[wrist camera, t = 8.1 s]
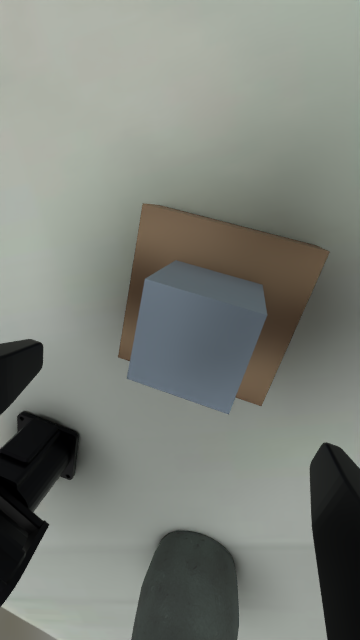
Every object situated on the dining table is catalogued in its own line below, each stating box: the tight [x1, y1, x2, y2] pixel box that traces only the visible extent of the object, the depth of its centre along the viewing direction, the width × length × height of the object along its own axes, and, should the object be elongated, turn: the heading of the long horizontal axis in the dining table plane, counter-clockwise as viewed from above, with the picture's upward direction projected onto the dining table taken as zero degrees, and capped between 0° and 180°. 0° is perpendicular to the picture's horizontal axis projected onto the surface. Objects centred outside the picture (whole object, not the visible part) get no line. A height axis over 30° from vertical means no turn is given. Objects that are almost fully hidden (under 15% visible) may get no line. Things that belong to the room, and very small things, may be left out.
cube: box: [127, 260, 267, 414], centre depth 14 cm, size 5×5×5 cm
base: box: [118, 204, 329, 406], centre depth 18 cm, size 10×10×3 cm
